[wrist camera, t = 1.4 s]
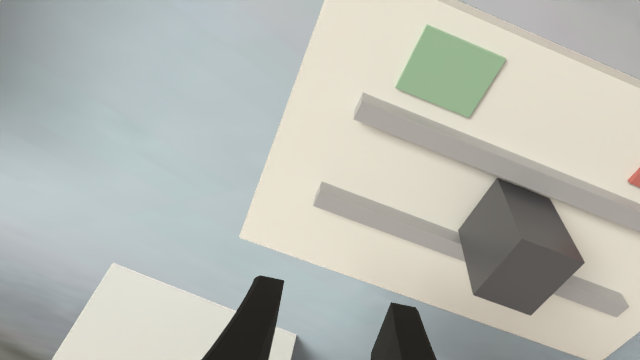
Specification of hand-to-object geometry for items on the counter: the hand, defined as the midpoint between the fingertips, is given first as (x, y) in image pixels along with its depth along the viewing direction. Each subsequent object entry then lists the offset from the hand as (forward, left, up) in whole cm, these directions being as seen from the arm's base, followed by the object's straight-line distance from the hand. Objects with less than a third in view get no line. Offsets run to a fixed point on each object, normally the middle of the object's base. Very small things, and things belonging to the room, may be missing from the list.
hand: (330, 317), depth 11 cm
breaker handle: (-7, 0, -8) cm, 11 cm away
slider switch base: (-7, 0, -10) cm, 13 cm away
